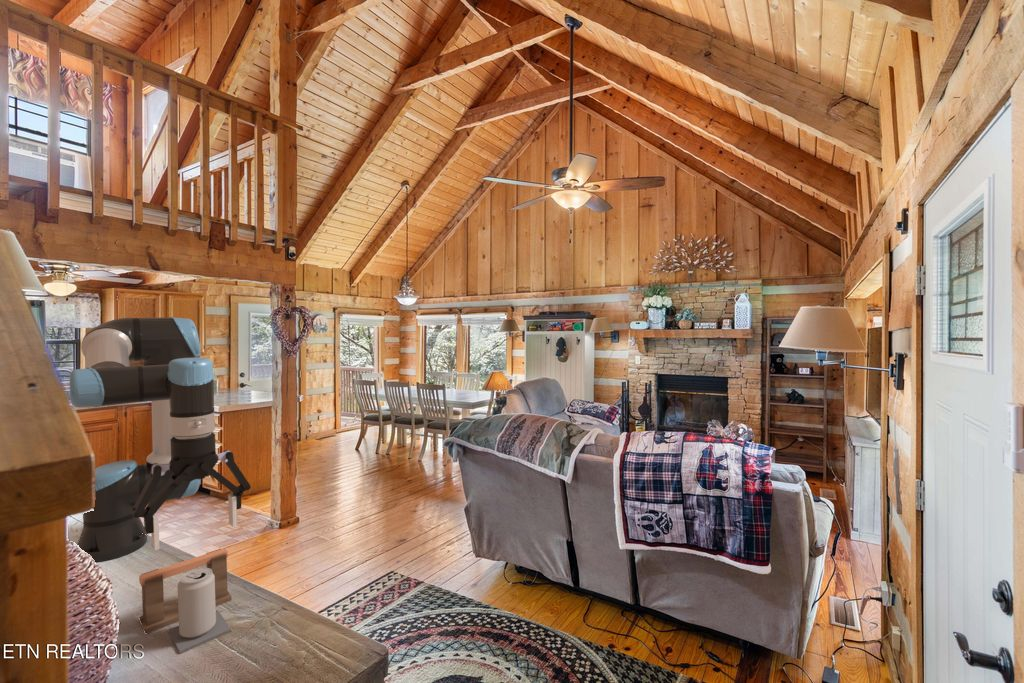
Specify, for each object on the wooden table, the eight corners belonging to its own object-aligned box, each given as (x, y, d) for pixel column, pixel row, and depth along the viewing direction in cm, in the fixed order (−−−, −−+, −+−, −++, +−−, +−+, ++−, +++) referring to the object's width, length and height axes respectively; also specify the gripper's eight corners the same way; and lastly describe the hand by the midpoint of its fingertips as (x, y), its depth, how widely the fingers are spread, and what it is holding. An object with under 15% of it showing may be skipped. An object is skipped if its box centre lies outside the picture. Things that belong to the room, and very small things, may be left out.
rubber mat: (168, 631, 98) (168, 629, 98) (217, 611, 105) (217, 609, 105) (179, 653, 92) (179, 651, 92) (231, 631, 99) (231, 628, 98)
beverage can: (198, 642, 94) (196, 585, 93) (171, 638, 95) (169, 581, 95) (223, 622, 101) (222, 568, 100) (197, 617, 102) (196, 564, 101)
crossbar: (139, 582, 99) (139, 575, 99) (224, 554, 111) (224, 548, 111) (141, 586, 98) (141, 579, 98) (227, 557, 110) (227, 551, 109)
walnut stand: (139, 621, 101) (137, 573, 100) (223, 589, 113) (222, 546, 112) (145, 634, 97) (143, 584, 96) (231, 600, 109) (230, 555, 108)
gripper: (116, 451, 84) (121, 566, 85) (265, 427, 102) (267, 521, 104) (110, 442, 89) (114, 550, 90) (252, 420, 107) (254, 511, 109)
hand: (196, 535), depth 97 cm, fingers open, 13 cm apart
